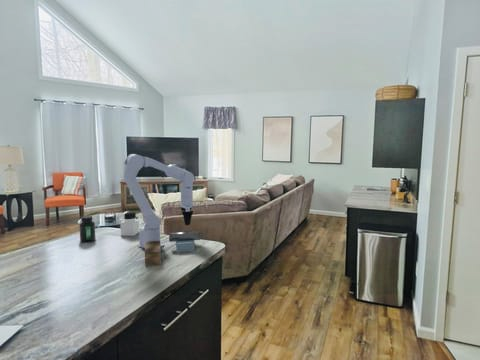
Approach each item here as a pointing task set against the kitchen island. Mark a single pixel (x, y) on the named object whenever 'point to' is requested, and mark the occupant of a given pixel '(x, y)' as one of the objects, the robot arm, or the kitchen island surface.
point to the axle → (184, 236)
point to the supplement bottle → (87, 229)
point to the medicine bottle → (129, 224)
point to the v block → (185, 246)
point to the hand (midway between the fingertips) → (186, 222)
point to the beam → (152, 253)
